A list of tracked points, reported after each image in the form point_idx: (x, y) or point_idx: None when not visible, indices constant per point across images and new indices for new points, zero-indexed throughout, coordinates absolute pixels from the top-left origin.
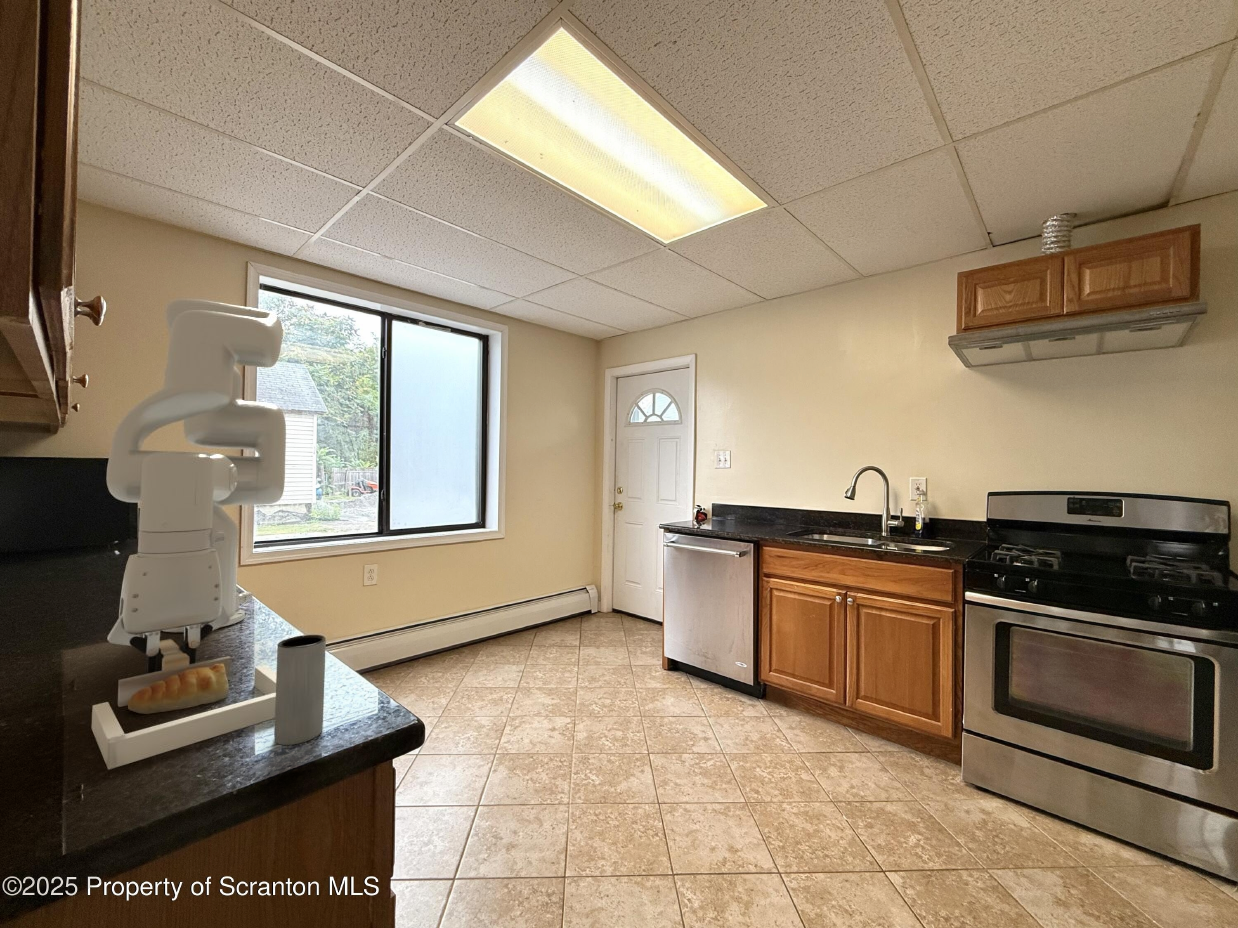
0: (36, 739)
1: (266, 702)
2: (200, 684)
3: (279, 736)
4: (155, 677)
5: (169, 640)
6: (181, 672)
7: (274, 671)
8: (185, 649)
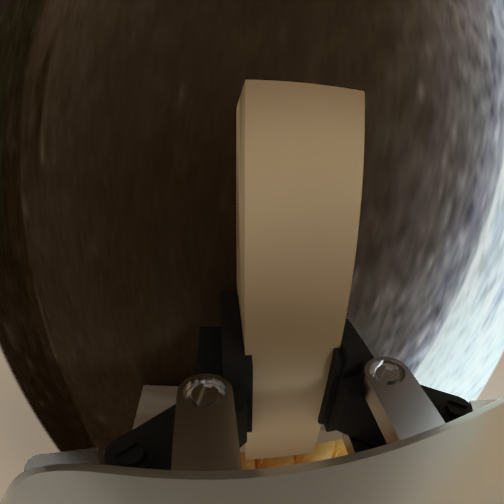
0: (60, 426)
1: None
2: None
3: None
4: None
5: (353, 120)
6: (272, 462)
7: None
8: (328, 425)
